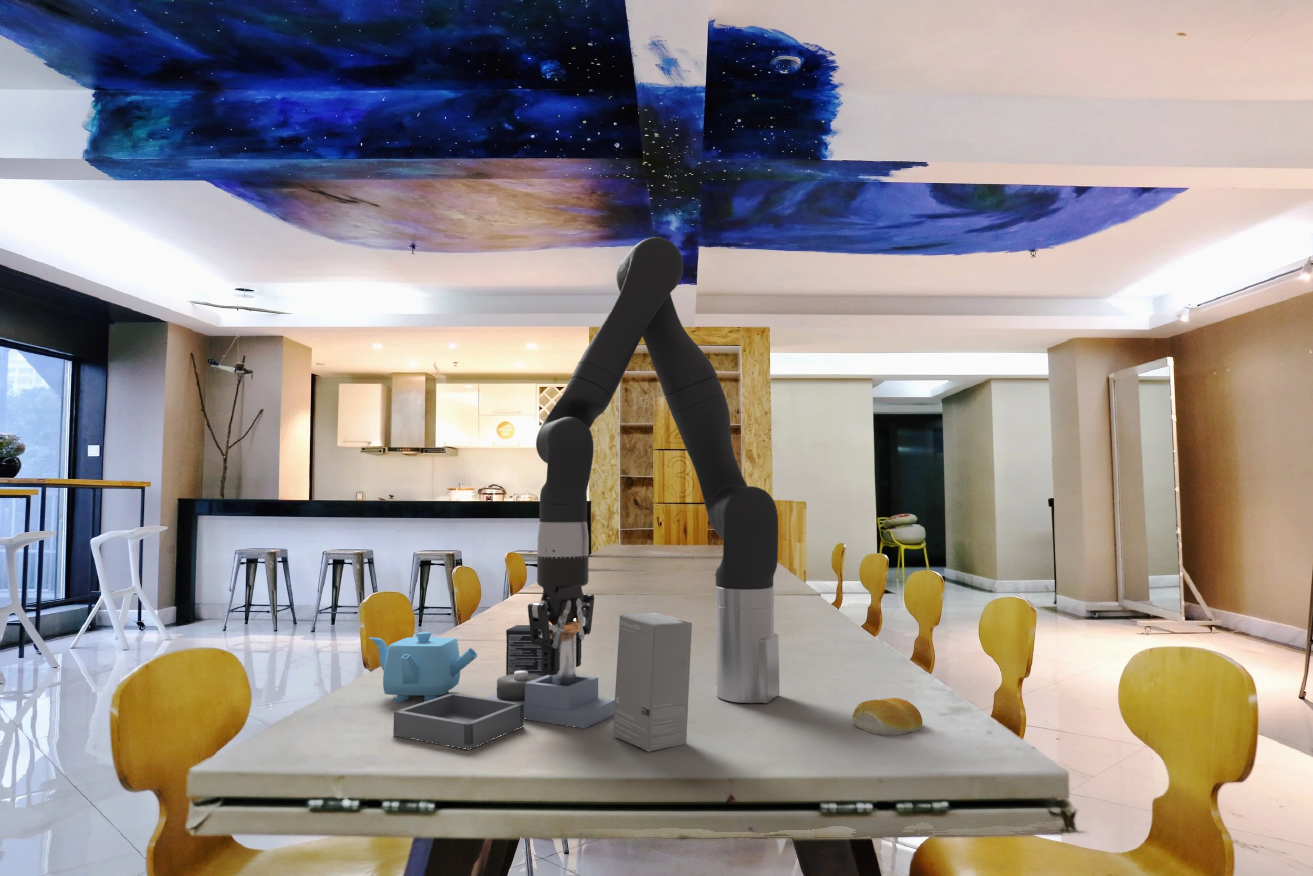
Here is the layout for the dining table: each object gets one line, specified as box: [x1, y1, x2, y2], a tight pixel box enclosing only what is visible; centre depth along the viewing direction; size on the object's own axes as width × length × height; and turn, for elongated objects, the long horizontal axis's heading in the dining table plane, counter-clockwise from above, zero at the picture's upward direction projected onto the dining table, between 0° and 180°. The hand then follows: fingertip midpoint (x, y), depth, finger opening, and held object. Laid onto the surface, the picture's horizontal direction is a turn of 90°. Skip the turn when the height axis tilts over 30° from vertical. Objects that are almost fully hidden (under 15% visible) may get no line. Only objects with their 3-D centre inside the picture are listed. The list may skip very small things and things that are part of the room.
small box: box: [505, 624, 546, 676], centre depth 122 cm, size 11×6×10 cm, turn 84°
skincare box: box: [612, 612, 693, 753], centre depth 97 cm, size 8×7×16 cm
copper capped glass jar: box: [548, 620, 580, 686], centre depth 108 cm, size 5×5×11 cm
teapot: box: [368, 631, 478, 703], centre depth 118 cm, size 18×14×10 cm
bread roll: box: [852, 697, 924, 736], centre depth 102 cm, size 8×9×4 cm
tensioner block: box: [483, 671, 615, 729], centre depth 109 cm, size 18×8×5 cm, turn 62°
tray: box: [392, 692, 525, 749], centre depth 100 cm, size 13×11×3 cm
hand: (562, 669), depth 108 cm, fingers open, 5 cm apart
